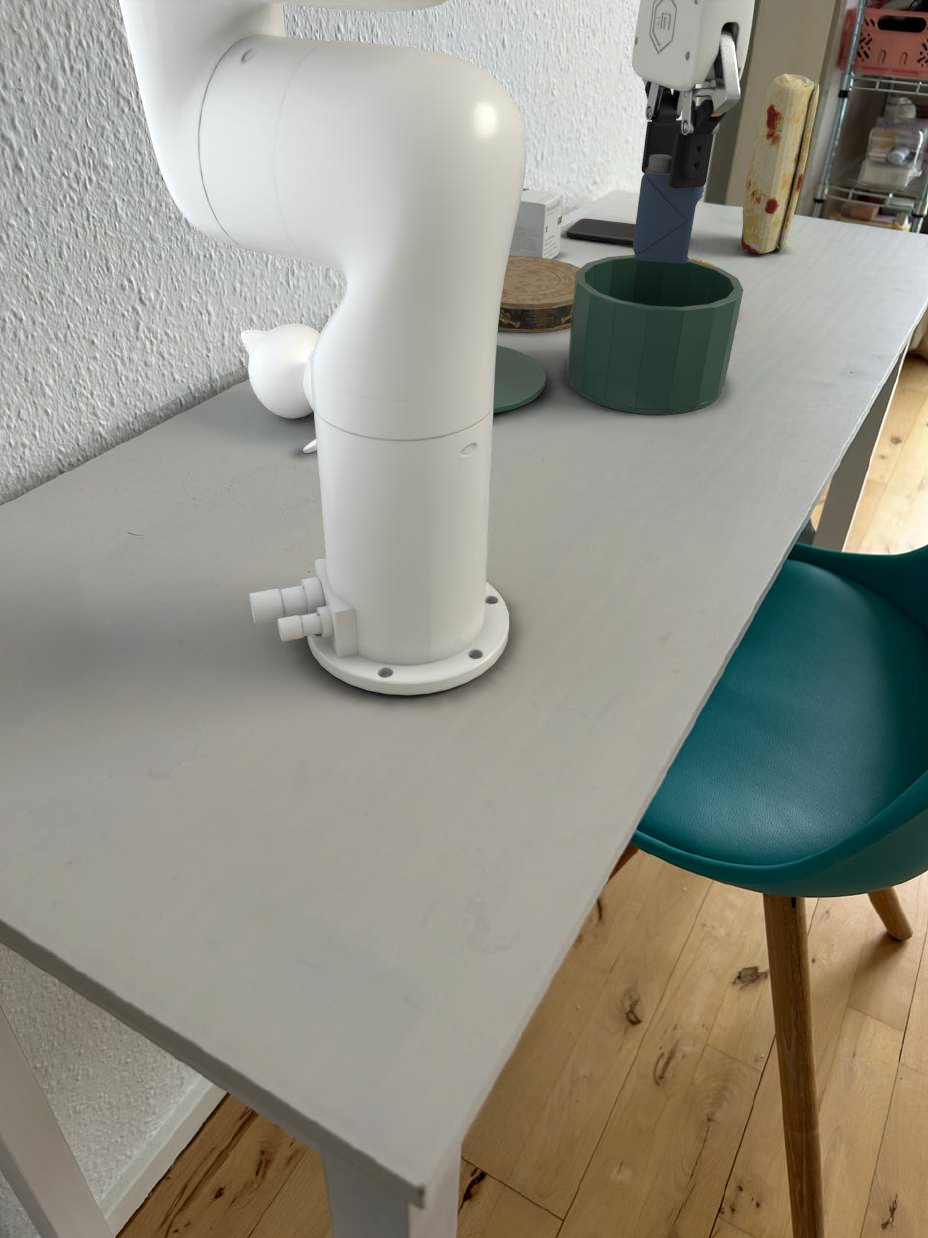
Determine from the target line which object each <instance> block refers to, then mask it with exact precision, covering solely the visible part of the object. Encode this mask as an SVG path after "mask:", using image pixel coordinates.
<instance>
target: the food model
mask: <svg viewBox="0 0 928 1238" xmlns="http://www.w3.org/2000/svg"><path fill="white" fill-rule="evenodd" d="M819 95H820V84H819V82H816V81H813V80H810V79H809V78H807V77H806V76H804V75H801V74H787V73H783V74H780V75H778V76H776V77H774V78H773V79H772V81H770V83H769V85H768V88H767V92H766V96H765V98H764V103H763V105H762V106H763V107H762V110H761V114H760V118H759V122H758V124H757V128H756V132H755V136H754V140H753V146H752V151H751V154H750V160H749V165H748V169H747V173H746V179H745V187H744V195H743V196H744V197H743V204H742V226H741V240H740V241H741V242H740V243H741V247H742V249H744V251H745V252H746V253H755V254H767V253H770V252H773V251H774V250H776V248H777V247H778V249H779V251H783V250H785V248H786V246H787V243H788V239H789V235H790V232H791V227H792V223H793V219H794V215H795V212H796V207H797V203H798V199H799V195H800V191H801V187H802V182H803V179H804V173H805V169H806V164H807V159H808V155H809V149H810V148H809V147H810V142H811V141H810V140H811V138H812V131H813V127H814V122H815V117H816V112H817V108H818V102H819Z"/></svg>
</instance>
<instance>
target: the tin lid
mask: <svg viewBox="0 0 928 1238" xmlns="http://www.w3.org/2000/svg"><path fill="white" fill-rule="evenodd" d="M546 382H547V375H546V371H545V369H544V368H543V366H542V365H541V364H540V363H539V362H538V361H537V360H535V359H534V358H532V357H531V356H529V355H528V354H525V353H523V352H521V351H520V350H516V349H513V348H510V347H506V346H502V345H500V344H497V345H496V361H495V380H494V402H493V414H497V413H502V412H506V411H510V410H511V411H512V410H514V409H516V408H517V409H518V408H520V407H522V406H525V405H527V404H529V403H531V402H533V400H535V399H537V398H538V397H539V396H540V395H541V394H542V393H543V391H544V390H545V387H546Z"/></svg>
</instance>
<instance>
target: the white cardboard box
mask: <svg viewBox="0 0 928 1238" xmlns="http://www.w3.org/2000/svg"><path fill="white" fill-rule="evenodd" d="M563 203H564V194H563V193H561V192H557V191H547V190H541V189H540V190H539V189H533V188H524V187H523V191H522V197H521V202H520V207H519V211H518V215H517V220H516V224H515V229H514V233H513V238H512V242H511V247H510V252H509V256H531V257H539V258H547V259H554V258H556V257H557V256H559V254H560V249H561V248H560V247H561V246H560V245H561V233H562V219H563Z"/></svg>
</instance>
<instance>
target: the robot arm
mask: <svg viewBox="0 0 928 1238" xmlns="http://www.w3.org/2000/svg"><path fill="white" fill-rule="evenodd" d="M448 1H449V0H118V3H119V6H120V11H121V16H122V20H123V24H124V29H125V33H126V37H127V42H128V47H129V51H130V55H131V59H132V63H133V68H134V72H135V77H136V81H137V85H138V90H139V94H140V98H141V103H142V106H143V107H142V108H143V111H144V115H145V119H146V124H147V128H148V132H149V136H150V140H151V144H152V148H153V151H154V155H155V158H156V162H157V164H158V167H159V171H160V174H161V176H162V178H163V181H164V183H165V186H166V189H167V190H168V192H169V194H170V197H171V199H172V200H173V201H174V204H175V205H176V207H177V208H178V210H179V211H180V212H181V214H182V215H183V217H184V218H185V219H186V220H187V222H189V224H191V225H192V226H193V227H194V228H195V229H196V230H198V231H199V232H201V233H202V234H203V235H205V236H207V237H208V238H210V239H211V240H214V241H217V242H218V243H221V244H224V245H227V246H230V247H234V248H238V249H242V250H246V251H251V252H253V253H257V254H263V255H269V256H273V257H278V258H282V259H288V260H293V261H297V262H301V263H306V264H312V265H315V266H318V267H321V268H325V269H329V270H333V271H337V272H339V273H340V274H342V275H343V276H344V279H345V288H344V293H343V295H342V297H341V299H340V301H339V303H338V305H337V306H336V308H335V310H334V311H333V312H332V314H331V315H330V317H329V318H328V320H327V321H326V323H325V324H324V326H323V327H322V329H321V331H320V332H319V333H320V335H319V337H318V339H317V342H316V344H315V347H314V351H313V356H312V363H311V387H312V399H313V407H314V412H313V416H314V417H313V419H314V431H315V439H316V442H317V450H316V454H317V465H318V473H319V474H318V478H319V479H318V480H319V489H320V500H321V501H320V502H321V512H322V513H321V514H322V515H321V516H322V525H323V526H322V527H323V538H324V551H325V558H318V559H315V560H314V566H315V567H314V568H315V576H312V577H308V578H302V579H301V580H300V585H296V586H290V587H285V588H272V589H267V590H260V591H255V592H250V593H248V594H249V602H250V603H249V604H250V609H251V613H252V618H253V623H254V625H261V624H266V623H273V622H277V628H278V632H279V637H280V641H281V643H282V642H288V641H295V640H299V639H304V638H305V637H307V644H308V646H309V649H310V651H311V653H312V656H313V657H314V658H315V660H316V661H317V662H318V664H319V665H320V666H321V667H322V668H323V669H325V670H326V671H328V673H330V674H331V675H332V676H333V677H335V678H337V679H339V680H340V681H342V682H344V683H346V684H348V685H350V686H353V687H356V688H360V689H363V690H366V691H367V692H369V691H370V692H374V693H379V694H385V695H396V696H397V695H398V696H415V695H427V694H432V693H433V694H434V693H438V692H442V691H447V690H450V689H454V688H456V687H458V686H462V685H464V684H466V683H468V682H470V681H472V680H475V678H477V677H480V676H481V675H483V674H484V673H485V672H486V671H488V670H489V669H490V668H491V667H492V666H494V665H495V663H497V661H498V660H499V658H500V657H501V656H502V654H503V653H504V651H505V649H506V646H507V643H508V641H509V632H510V613H509V610H508V607H507V605H506V602H505V600H504V598H503V597H502V595H500V593H499V592H498V591H497V590H496V589H495V588H494V586H492V585H491V584H490V583H489V582H488V581H487V568H488V567H487V566H488V541H489V521H490V520H489V517H490V496H491V495H490V494H491V474H492V473H491V470H492V449H493V447H492V446H493V423H494V413H493V402H494V380H495V361H496V345H498V344H497V343H498V331H499V330H498V322H499V313H500V303H501V297H502V290H503V284H504V277H505V272H506V267H507V262H508V257H509V252H510V247H511V242H512V238H513V233H514V229H515V224H516V220H517V215H518V211H519V207H520V202H521V197H522V191H523V188H524V184H525V179H526V171H527V169H526V168H527V155H528V153H527V138H526V133H525V127H524V122H523V119H522V116H521V113H520V111H519V109H518V107H517V104H516V103H515V101H514V100H513V99H514V98H513V97H512V96H511V95H510V93H509V91H508V90H507V89H506V88H505V87H504V86H503V85H502V83H501V82H499V80H497V79H496V78H495V77H494V76H493V75H491V73H488V72H487V71H485V70H484V69H482V68H481V67H480V66H478V65H476V64H474V63H472V62H470V61H468V60H465V59H462V58H459V57H456V56H453V55H450V54H448V53H444V52H440V51H435V50H430V49H424V48H419V47H412V46H402V45H396V44H395V45H394V44H393V45H392V44H385V43H373V42H363V41H352V40H343V39H339V40H338V39H336V40H334V39H333V40H332V39H331V40H323V39H321V40H320V39H313V38H311V39H310V38H301V37H292V36H286V27H285V26H286V25H285V15H284V5H285V6H296V7H306V8H318V9H327V10H329V9H330V10H338V11H339V10H340V11H354V12H370V13H371V12H374V13H375V12H377V13H379V12H380V13H394V12H395V13H396V12H410V11H411V12H413V11H416V12H417V11H421V10H425V9H429V8H433V7H436V6H441V5H442V4H445V3H446V2H448ZM755 2H756V0H639V7H638V13H637V20H636V27H635V33H634V40H633V48H632V56H631V57H632V58H631V59H632V60H631V67H632V69H633V71H634V73H635V74H636V75H637V76H638V77H639V78H641V81H642V83H643V85H644V92H645V96H646V99H647V100H646V101H647V102H646V106H645V112H644V113H645V119H646V121H647V122H646V129H645V137H644V145H643V153H642V161H641V169H640V170H641V173H642V174H645V171H646V170H645V169H646V168H647V167H649V158H650V155H654V154H664V155H670V156H672V161H671V168H670V175H669V186H670V187H672V188H675V189H676V188H691V187H702V186H704V187H705V185H706V183H707V179H708V174H709V169H710V162H711V156H712V150H713V149H712V148H713V143H714V136H715V135H716V134H718V132H719V130H720V127H721V121H722V120H723V118H724V117H725V116H726V114H727V112H729V111H730V110H731V109H732V108H733V107H735V106H736V105H737V104H738V103H739V102H740V100H741V97H742V95H741V94H742V93H741V85H740V84H741V83H740V81H741V78H742V76H743V74H744V73H743V72H744V68H745V65H746V60H747V56H748V50H749V45H750V38H751V32H752V27H753V18H754V10H755ZM703 84H704V85H707V86H710V87H697V85H703ZM698 98H707V99H704V100H702V101H701V103H700V104H699V105H698V106H699V107H698V109H697V110H696V106H697V103H698V102H697V99H698Z"/></svg>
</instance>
